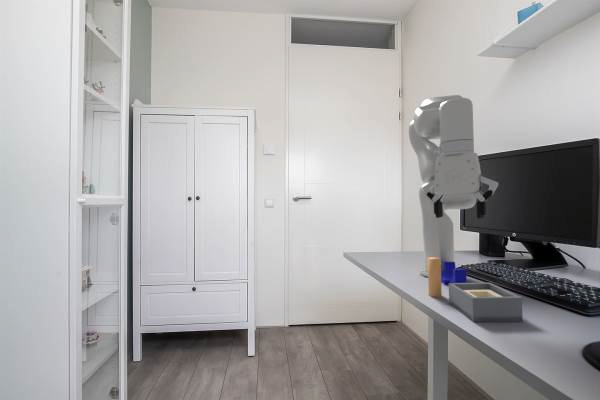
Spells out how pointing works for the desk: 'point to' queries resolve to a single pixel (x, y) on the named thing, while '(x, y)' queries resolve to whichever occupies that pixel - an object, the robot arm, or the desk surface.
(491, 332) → the desk surface
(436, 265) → the peg
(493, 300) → the box
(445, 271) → the cable clip
